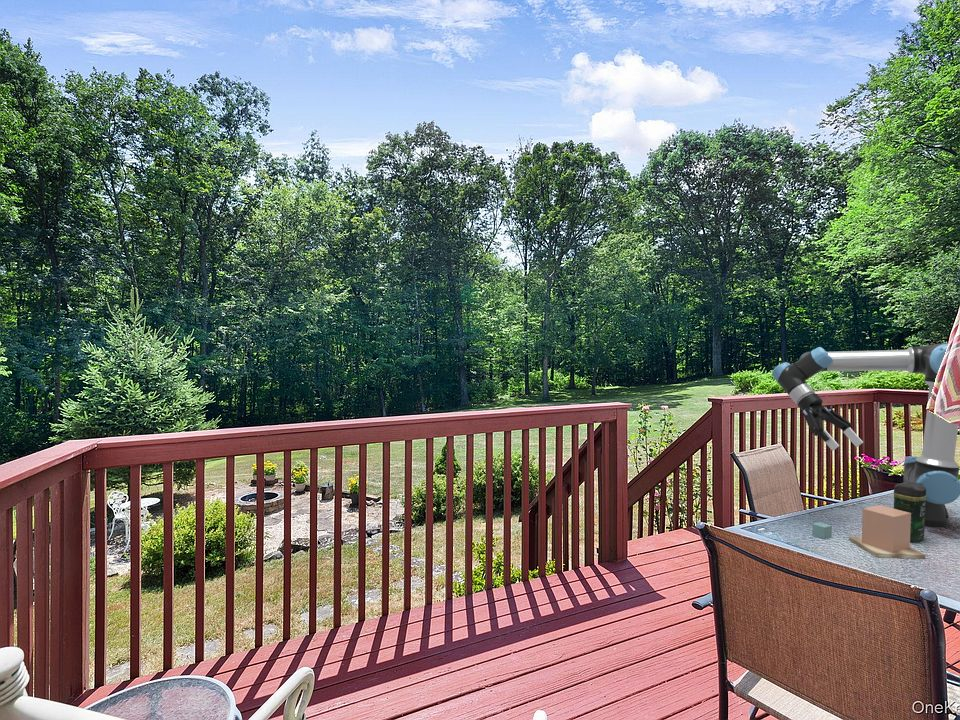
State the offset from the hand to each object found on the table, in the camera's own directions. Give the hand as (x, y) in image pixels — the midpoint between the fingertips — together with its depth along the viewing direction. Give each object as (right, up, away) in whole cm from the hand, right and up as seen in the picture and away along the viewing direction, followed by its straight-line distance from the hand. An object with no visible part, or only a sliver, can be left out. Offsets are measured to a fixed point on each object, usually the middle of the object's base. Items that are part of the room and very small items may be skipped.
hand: (848, 446), depth 188 cm
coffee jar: (+16, -30, -6) cm, 34 cm away
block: (-12, -29, -4) cm, 32 cm away
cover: (+1, -29, -16) cm, 33 cm away
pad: (+1, -30, -16) cm, 34 cm away
